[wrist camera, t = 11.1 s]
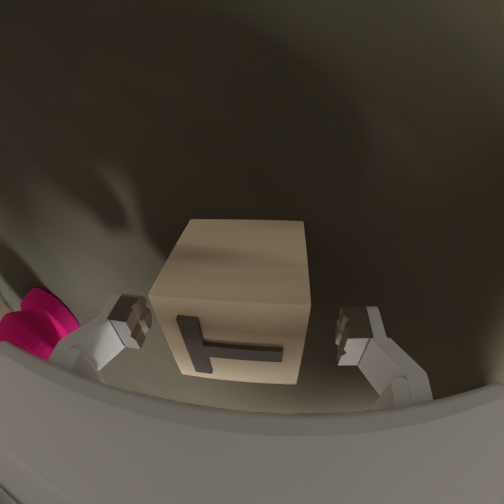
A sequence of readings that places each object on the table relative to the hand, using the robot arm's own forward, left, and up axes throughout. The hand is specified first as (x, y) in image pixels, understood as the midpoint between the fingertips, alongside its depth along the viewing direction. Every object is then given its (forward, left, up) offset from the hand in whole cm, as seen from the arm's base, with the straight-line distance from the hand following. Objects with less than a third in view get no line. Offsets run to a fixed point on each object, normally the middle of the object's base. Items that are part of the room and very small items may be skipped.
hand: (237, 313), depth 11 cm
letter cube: (0, 0, -3) cm, 3 cm away
